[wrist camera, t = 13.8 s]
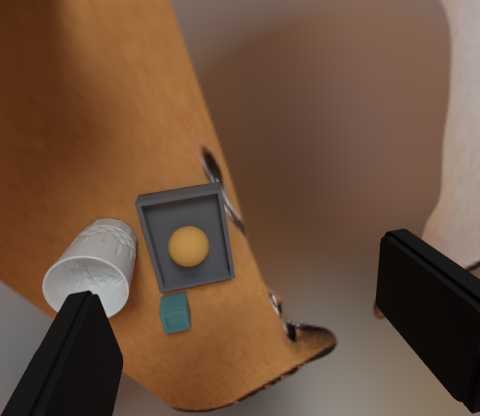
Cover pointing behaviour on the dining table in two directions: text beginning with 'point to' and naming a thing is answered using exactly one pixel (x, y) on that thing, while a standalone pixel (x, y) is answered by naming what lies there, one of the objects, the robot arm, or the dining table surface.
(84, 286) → the white cup
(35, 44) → the dining table surface
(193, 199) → the tray
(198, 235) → the ball
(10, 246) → the dining table surface
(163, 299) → the block
